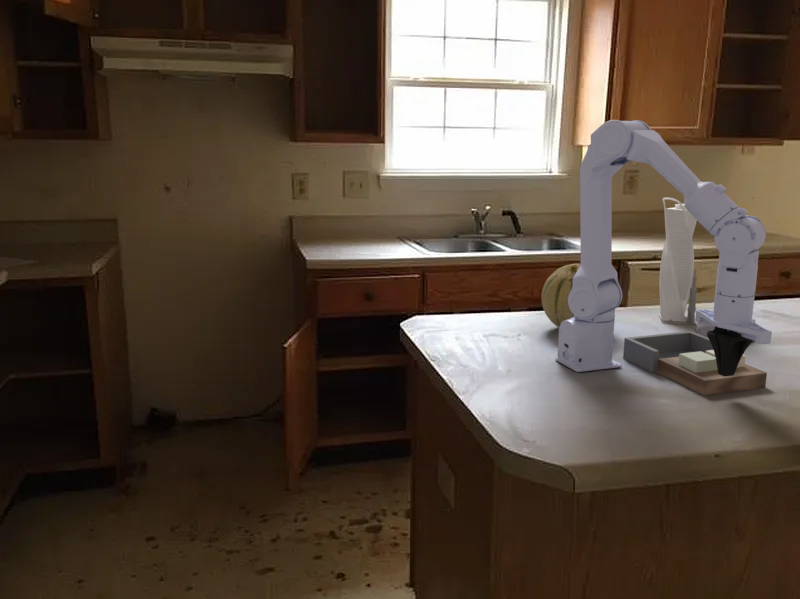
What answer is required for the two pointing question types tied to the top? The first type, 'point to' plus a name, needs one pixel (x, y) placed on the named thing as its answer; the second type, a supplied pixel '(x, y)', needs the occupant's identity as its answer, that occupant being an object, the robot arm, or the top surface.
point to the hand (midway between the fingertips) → (726, 374)
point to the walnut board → (712, 378)
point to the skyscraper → (678, 267)
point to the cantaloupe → (559, 294)
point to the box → (662, 347)
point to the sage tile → (697, 361)
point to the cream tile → (741, 362)
